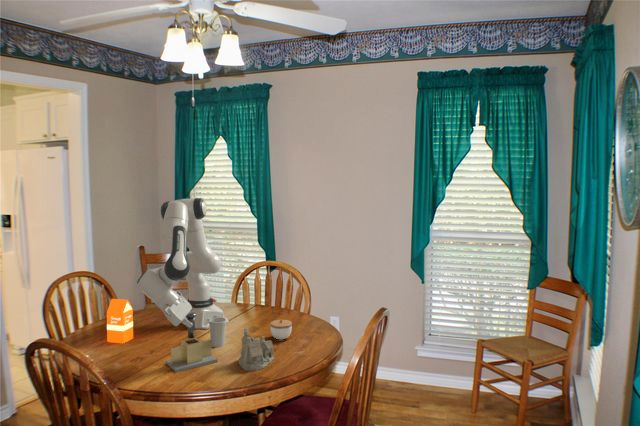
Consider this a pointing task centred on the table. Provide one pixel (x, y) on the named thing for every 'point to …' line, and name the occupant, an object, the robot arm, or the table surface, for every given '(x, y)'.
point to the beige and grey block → (191, 351)
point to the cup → (217, 331)
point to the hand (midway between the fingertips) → (192, 324)
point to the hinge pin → (192, 330)
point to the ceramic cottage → (255, 352)
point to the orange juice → (119, 321)
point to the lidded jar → (281, 328)
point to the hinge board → (185, 366)
